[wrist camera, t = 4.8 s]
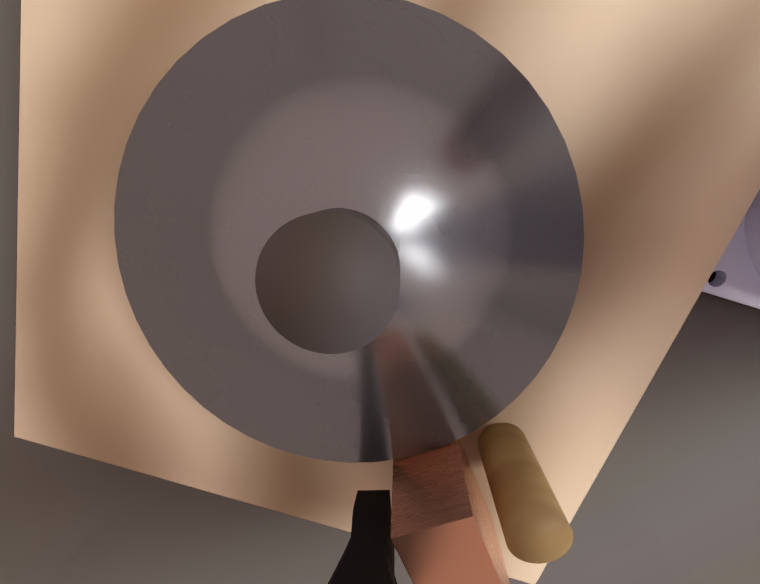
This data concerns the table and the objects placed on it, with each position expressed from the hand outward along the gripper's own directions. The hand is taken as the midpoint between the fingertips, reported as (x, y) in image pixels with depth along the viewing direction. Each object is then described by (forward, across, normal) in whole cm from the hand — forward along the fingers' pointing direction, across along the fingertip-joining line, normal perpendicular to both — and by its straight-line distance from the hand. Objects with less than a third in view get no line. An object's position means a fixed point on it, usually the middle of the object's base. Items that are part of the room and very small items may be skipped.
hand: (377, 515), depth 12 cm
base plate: (+3, 0, -8) cm, 9 cm away
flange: (+1, 0, -6) cm, 6 cm away
